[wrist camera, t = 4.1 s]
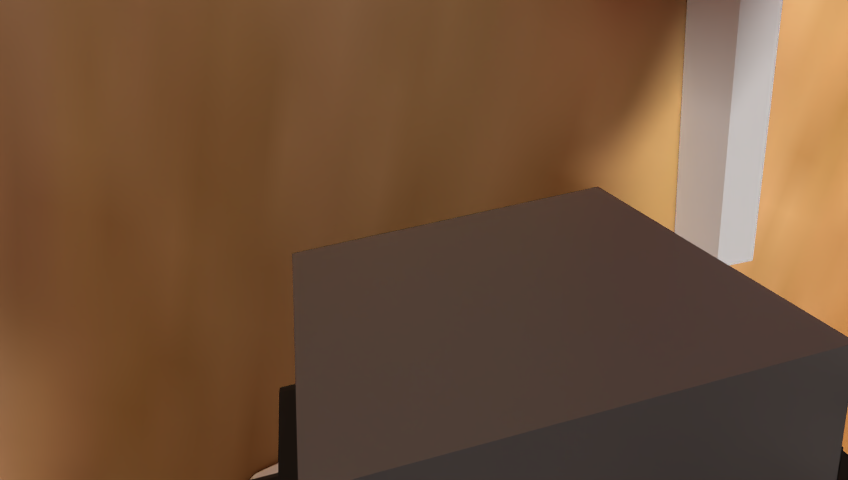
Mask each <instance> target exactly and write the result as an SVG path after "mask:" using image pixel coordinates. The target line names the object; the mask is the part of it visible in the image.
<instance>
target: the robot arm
mask: <svg viewBox="0 0 848 480" xmlns="http://www.w3.org/2000/svg"><path fill="white" fill-rule="evenodd" d="M251 480H298V458H297V419H296V384H294V385H289V386H285V387H281V388H280V391H279V449H278V473H275V474H271V475H267V476H263V477H259V478H255V479H251ZM837 480H848V454H846V453H845V452H844V451H843V447H841V454H840V461H839V467H838V474H837Z"/></svg>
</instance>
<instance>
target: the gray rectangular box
mask: <svg viewBox="0 0 848 480" xmlns="http://www.w3.org/2000/svg"><path fill="white" fill-rule="evenodd" d="M292 263H293V302H294V341H295V380H296V419H297V458H298V480H837V474H838V467H839V461H840V454H841V447H842V440H843V433H844V427H845V420H846V413H847V406H848V337H847V336H845V335H843V334H842V333H840V332H838V331H837V330H835V329H833V328H832V327H830V326H828V325H827V324H825V323H823V322H822V321H820V320H818V319H817V318H815V317H813V316H812V315H810V314H809V313H807V312H805V311H804V310H802V309H800V308H799V307H797V306H795V305H794V304H792V303H790V302H789V301H787V300H785V299H784V298H782V297H780V296H779V295H777V294H775V293H774V292H772V291H770V290H769V289H767V288H765V287H764V286H762V285H760V284H759V283H757V282H755V281H754V280H752V279H750V278H749V277H747V276H745V275H744V274H742V273H740V272H739V271H737V270H735V269H734V268H732V267H730V266H729V265H727V264H725V263H724V262H722V261H721V260H719V259H717V258H716V257H714V256H712V255H711V254H709V253H707V252H706V251H704V250H702V249H701V248H699V247H697V246H696V245H694V244H692V243H691V242H689V241H687V240H686V239H684V238H682V237H681V236H679V235H677V234H676V233H674V232H672V231H671V230H669V229H667V228H666V227H664V226H662V225H661V224H659V223H657V222H656V221H654V220H652V219H651V218H649V217H647V216H646V215H644V214H642V213H641V212H639V211H637V210H636V209H634V208H632V207H631V206H629V205H628V204H626V203H624V202H623V201H621V200H619V199H618V198H616V197H614V196H613V195H611V194H609V193H608V192H606V191H604V190H603V189H601V188H599V187H594V188H590V189H585V190H581V191H576V192H571V193H567V194H562V195H558V196H553V197H549V198H544V199H539V200H535V201H530V202H526V203H521V204H517V205H512V206H507V207H503V208H498V209H494V210H489V211H485V212H480V213H475V214H471V215H466V216H462V217H457V218H453V219H448V220H443V221H439V222H434V223H430V224H425V225H421V226H416V227H411V228H407V229H402V230H398V231H393V232H389V233H384V234H379V235H375V236H370V237H366V238H361V239H357V240H352V241H347V242H343V243H338V244H334V245H329V246H325V247H320V248H315V249H311V250H306V251H302V252H297V253H293V254H292Z"/></svg>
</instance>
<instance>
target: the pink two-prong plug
mask: <svg viewBox="0 0 848 480" xmlns="http://www.w3.org/2000/svg"><path fill="white" fill-rule="evenodd" d="M782 3H783V0H687V12H686V31H685V49H684V68H683V86H682V105H681V124H680V142H679V161H678V179H677V198H676V217H675V233H676V234H677V235H679V236H681V237H682V238H684V239H686V240H687V241H689V242H691V243H692V244H694V245H696V246H697V247H699V248H701V249H702V250H704V251H706V252H707V253H709V254H711V255H712V256H714V257H716V258H717V259H719V260H721V261H722V262H724V263H725V264H727V265H733V264H738V263H743V262H748V261H753V253H754V245H755V236H756V227H757V219H758V210H759V201H760V193H761V184H762V176H763V167H764V158H765V150H766V141H767V133H768V124H769V115H770V107H771V98H772V90H773V81H774V72H775V64H776V55H777V46H778V38H779V29H780V21H781V12H782Z"/></svg>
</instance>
